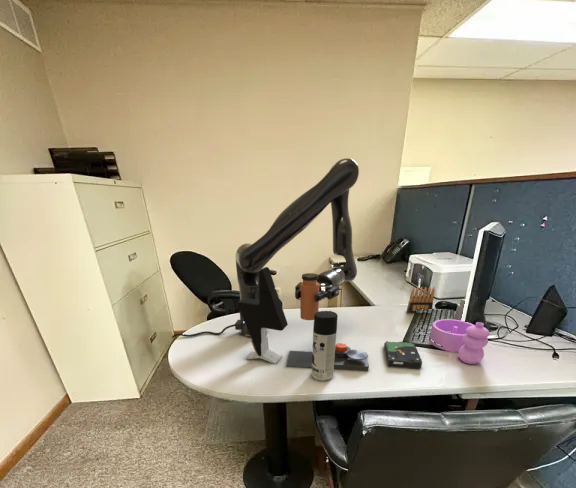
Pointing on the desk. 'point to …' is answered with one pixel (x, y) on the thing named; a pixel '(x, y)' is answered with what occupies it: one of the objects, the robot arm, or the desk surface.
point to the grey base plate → (349, 362)
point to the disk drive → (402, 355)
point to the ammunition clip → (420, 299)
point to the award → (263, 316)
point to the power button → (341, 347)
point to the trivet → (299, 359)
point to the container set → (460, 338)
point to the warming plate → (357, 354)
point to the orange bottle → (309, 296)
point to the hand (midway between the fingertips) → (306, 297)
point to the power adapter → (459, 310)
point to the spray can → (324, 345)
